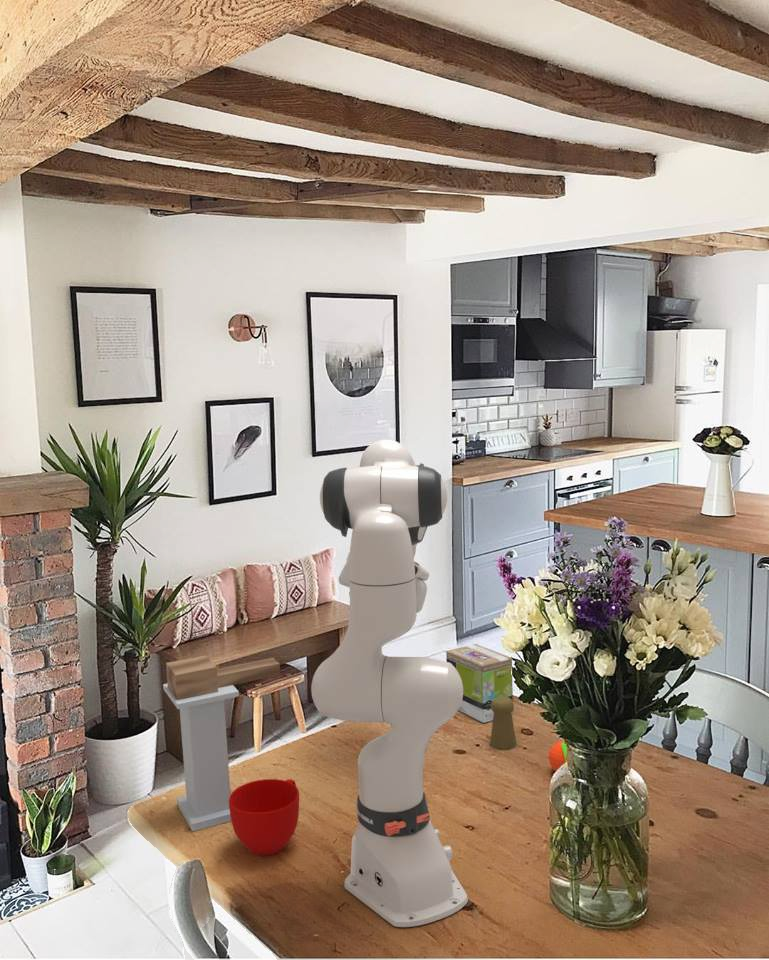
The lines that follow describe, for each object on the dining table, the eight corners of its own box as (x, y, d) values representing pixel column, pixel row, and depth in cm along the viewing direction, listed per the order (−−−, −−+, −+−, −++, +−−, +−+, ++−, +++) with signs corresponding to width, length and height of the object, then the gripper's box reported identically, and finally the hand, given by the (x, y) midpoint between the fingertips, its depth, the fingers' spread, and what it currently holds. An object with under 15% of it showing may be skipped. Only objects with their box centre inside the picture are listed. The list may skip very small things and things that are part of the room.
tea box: (514, 714, 222) (513, 657, 220) (482, 724, 216) (481, 666, 214) (477, 696, 234) (475, 641, 232) (446, 705, 229) (444, 649, 227)
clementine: (583, 784, 185) (582, 751, 184) (548, 782, 186) (548, 750, 185) (581, 766, 193) (581, 735, 192) (548, 765, 194) (548, 733, 193)
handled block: (283, 678, 180) (282, 654, 179) (177, 700, 171) (175, 675, 170) (270, 666, 187) (269, 643, 186) (167, 687, 178) (165, 662, 177)
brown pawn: (487, 748, 203) (486, 702, 202) (492, 737, 209) (491, 692, 207) (514, 751, 201) (513, 704, 200) (518, 739, 207) (517, 694, 206)
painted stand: (247, 816, 177) (238, 691, 174) (187, 832, 172) (177, 704, 169) (229, 791, 188) (221, 672, 184) (172, 806, 183) (163, 684, 179)
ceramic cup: (324, 824, 173) (321, 776, 172) (278, 871, 158) (275, 818, 157) (267, 812, 179) (264, 765, 177) (217, 857, 163) (214, 805, 162)
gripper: (347, 543, 203) (325, 600, 201) (429, 573, 195) (406, 633, 194) (356, 547, 209) (335, 603, 207) (435, 576, 201) (414, 634, 200)
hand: (370, 618), depth 200 cm, fingers open, 8 cm apart
